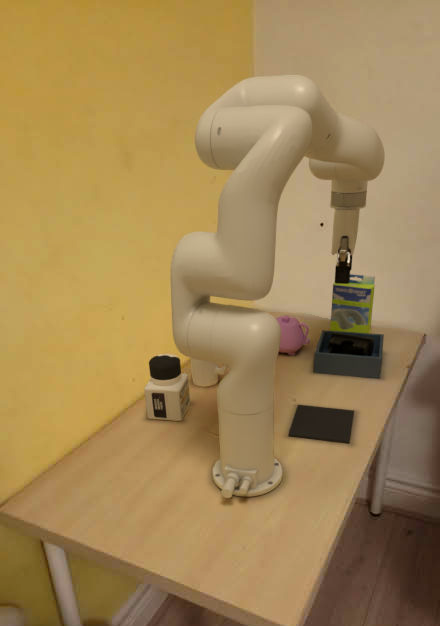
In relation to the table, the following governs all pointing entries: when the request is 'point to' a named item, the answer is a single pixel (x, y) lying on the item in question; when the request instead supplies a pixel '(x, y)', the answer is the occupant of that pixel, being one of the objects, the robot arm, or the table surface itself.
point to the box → (353, 305)
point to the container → (167, 389)
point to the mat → (322, 423)
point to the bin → (348, 358)
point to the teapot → (292, 334)
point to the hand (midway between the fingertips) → (343, 276)
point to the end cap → (350, 344)
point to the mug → (205, 372)
